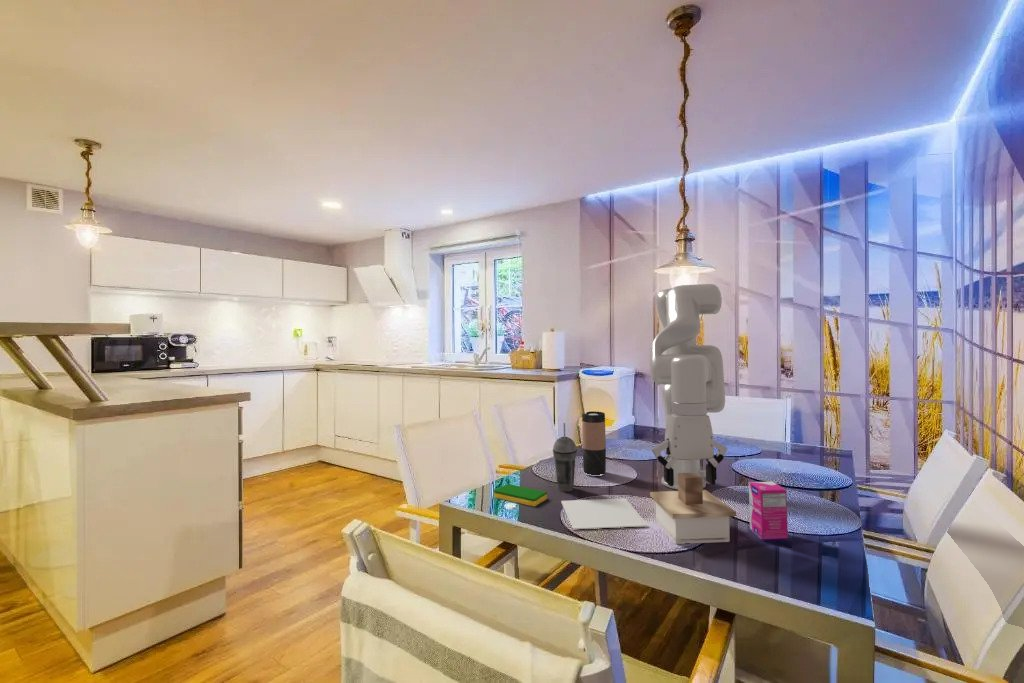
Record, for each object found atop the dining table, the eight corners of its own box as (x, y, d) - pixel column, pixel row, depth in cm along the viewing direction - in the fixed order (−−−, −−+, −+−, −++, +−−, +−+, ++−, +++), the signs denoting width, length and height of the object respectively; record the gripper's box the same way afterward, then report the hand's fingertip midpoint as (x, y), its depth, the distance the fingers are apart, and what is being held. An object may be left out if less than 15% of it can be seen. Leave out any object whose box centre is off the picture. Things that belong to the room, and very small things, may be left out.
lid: (705, 493, 113) (705, 465, 113) (736, 516, 99) (735, 484, 99) (650, 496, 112) (649, 467, 112) (672, 518, 98) (672, 486, 98)
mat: (625, 500, 126) (625, 498, 126) (648, 527, 108) (648, 525, 108) (561, 502, 125) (561, 500, 125) (573, 530, 108) (573, 528, 107)
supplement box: (748, 530, 105) (747, 481, 105) (774, 530, 105) (773, 480, 105) (761, 541, 100) (760, 489, 100) (789, 541, 99) (788, 489, 99)
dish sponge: (507, 491, 137) (507, 483, 137) (547, 500, 129) (547, 491, 129) (493, 498, 131) (493, 490, 131) (534, 508, 123) (534, 499, 123)
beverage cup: (577, 485, 140) (576, 420, 140) (578, 493, 133) (577, 424, 132) (553, 484, 141) (552, 420, 140) (553, 492, 133) (551, 424, 133)
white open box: (704, 519, 112) (703, 495, 112) (729, 541, 100) (729, 514, 100) (656, 521, 111) (655, 497, 111) (675, 544, 99) (675, 516, 99)
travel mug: (608, 476, 147) (607, 415, 147) (584, 477, 147) (583, 415, 147) (604, 469, 155) (602, 411, 155) (581, 470, 155) (580, 411, 155)
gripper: (717, 406, 109) (718, 478, 109) (646, 408, 109) (647, 480, 108) (734, 411, 102) (735, 487, 102) (657, 412, 101) (659, 490, 101)
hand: (690, 483), depth 105 cm, fingers open, 9 cm apart
